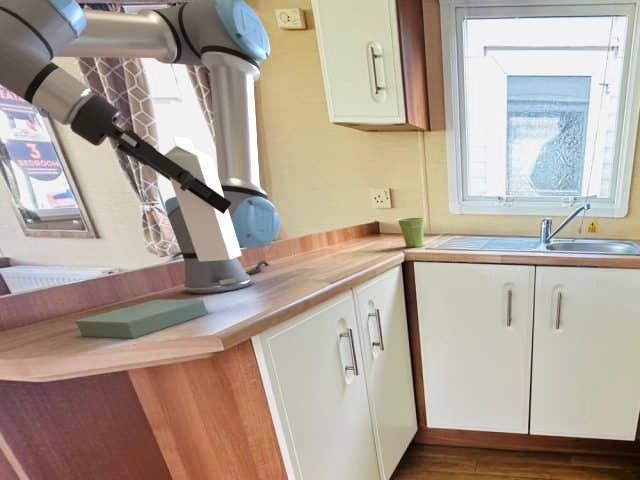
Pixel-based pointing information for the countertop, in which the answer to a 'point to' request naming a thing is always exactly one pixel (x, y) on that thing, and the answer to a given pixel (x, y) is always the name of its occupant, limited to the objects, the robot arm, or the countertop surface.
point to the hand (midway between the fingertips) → (224, 207)
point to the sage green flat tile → (141, 318)
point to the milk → (203, 206)
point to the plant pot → (412, 231)
